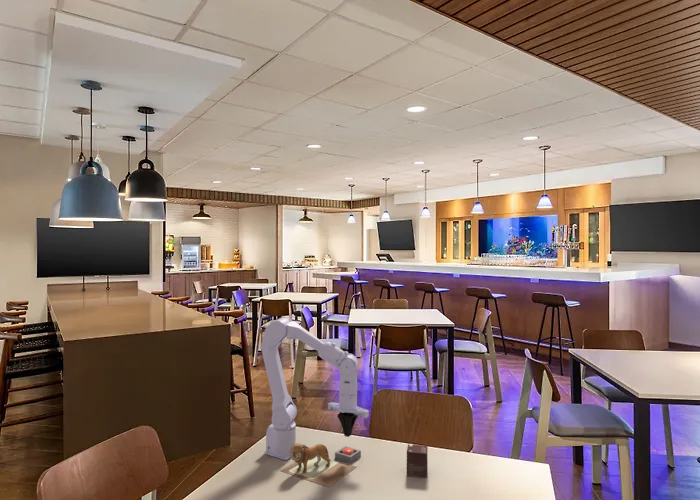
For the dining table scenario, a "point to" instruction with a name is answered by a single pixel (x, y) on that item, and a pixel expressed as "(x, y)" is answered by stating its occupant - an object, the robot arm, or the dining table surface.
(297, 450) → the lion figurine
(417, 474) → the box
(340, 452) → the button housing
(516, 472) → the dining table surface
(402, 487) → the dining table surface
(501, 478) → the dining table surface
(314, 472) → the picture sheet
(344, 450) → the button
